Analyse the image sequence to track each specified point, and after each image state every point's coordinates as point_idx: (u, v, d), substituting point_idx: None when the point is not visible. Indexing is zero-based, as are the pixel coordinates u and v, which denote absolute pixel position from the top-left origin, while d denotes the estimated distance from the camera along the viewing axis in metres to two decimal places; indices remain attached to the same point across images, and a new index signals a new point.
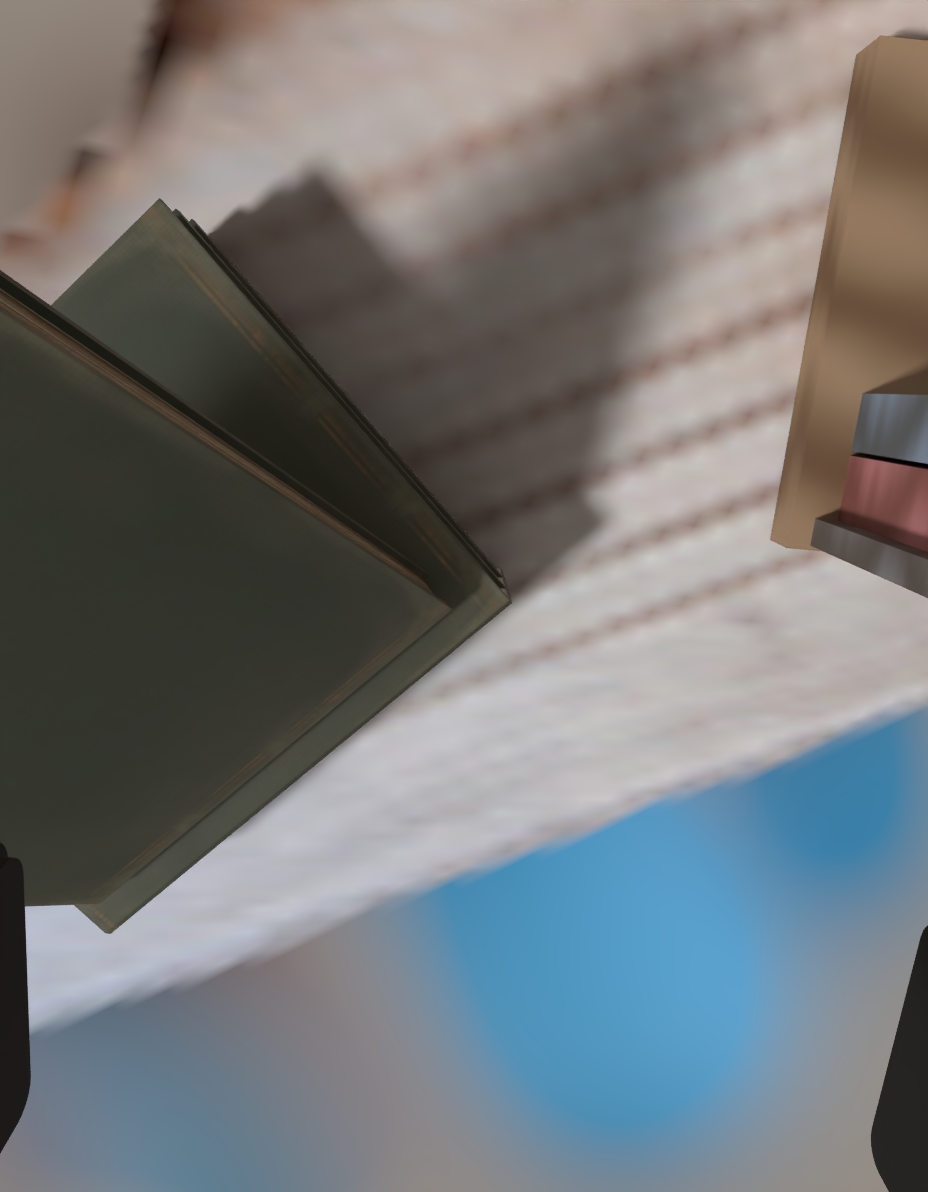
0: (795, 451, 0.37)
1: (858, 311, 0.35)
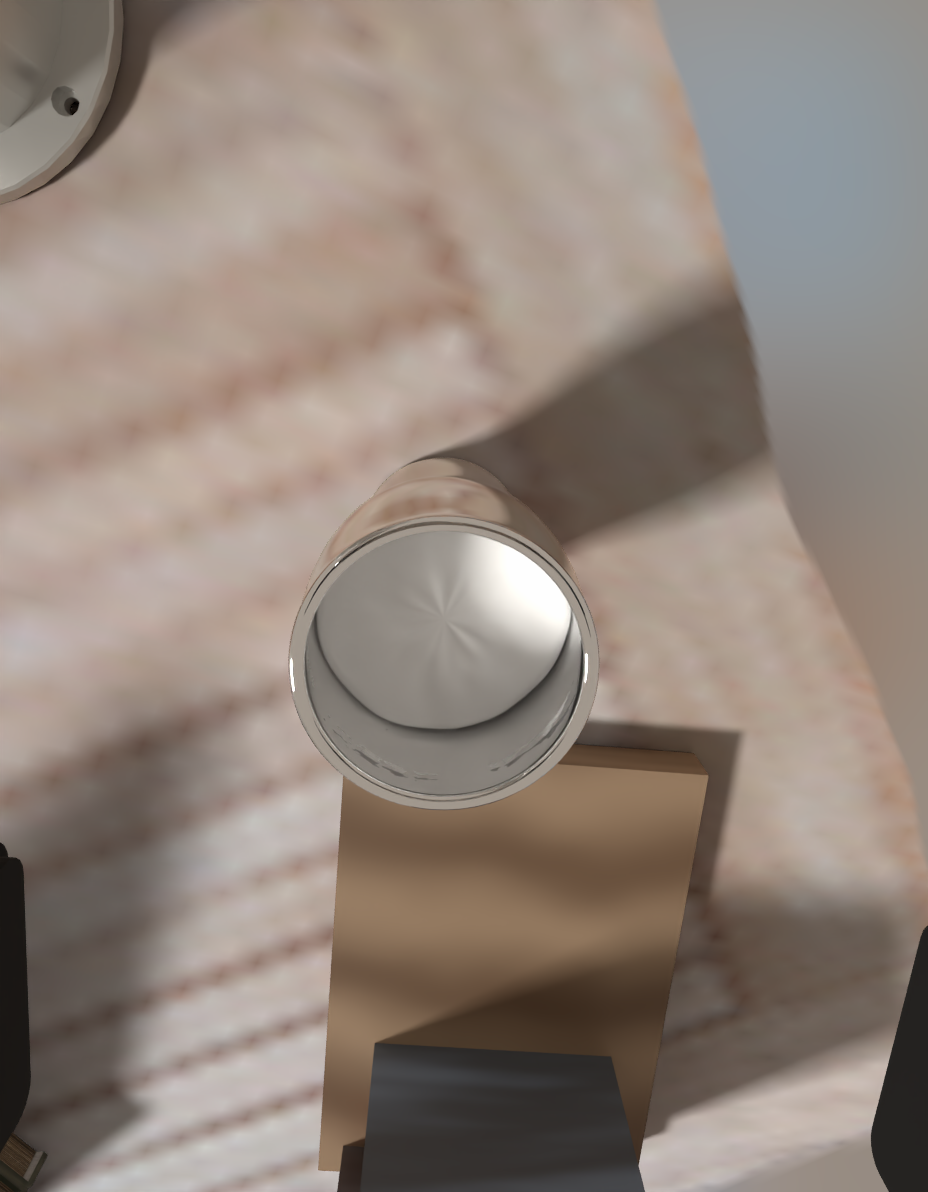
0: None
1: (359, 976, 0.35)
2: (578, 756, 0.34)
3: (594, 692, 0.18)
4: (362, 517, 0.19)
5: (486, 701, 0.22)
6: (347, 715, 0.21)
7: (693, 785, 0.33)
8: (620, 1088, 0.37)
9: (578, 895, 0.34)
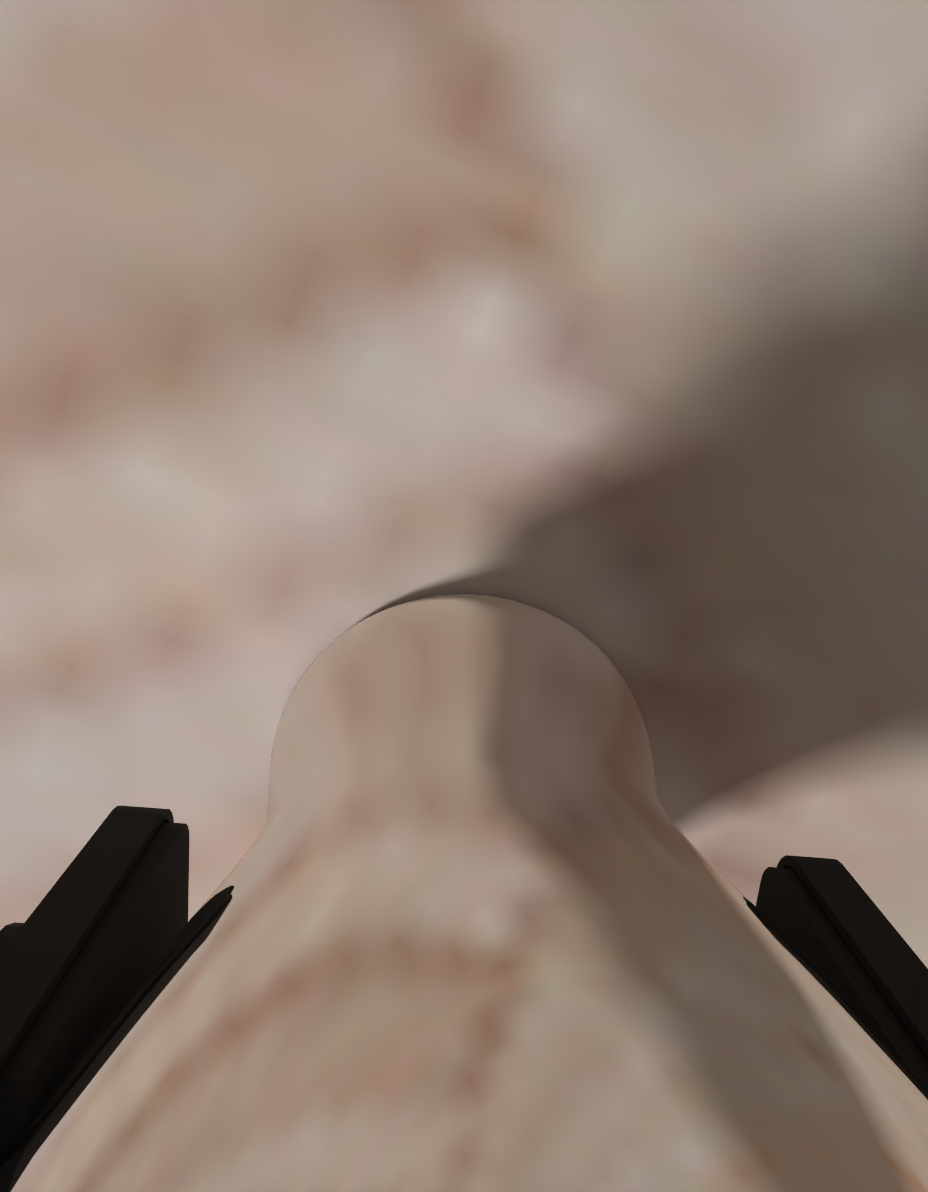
0: None
1: None
2: None
3: None
4: None
5: None
6: None
7: None
8: None
9: None
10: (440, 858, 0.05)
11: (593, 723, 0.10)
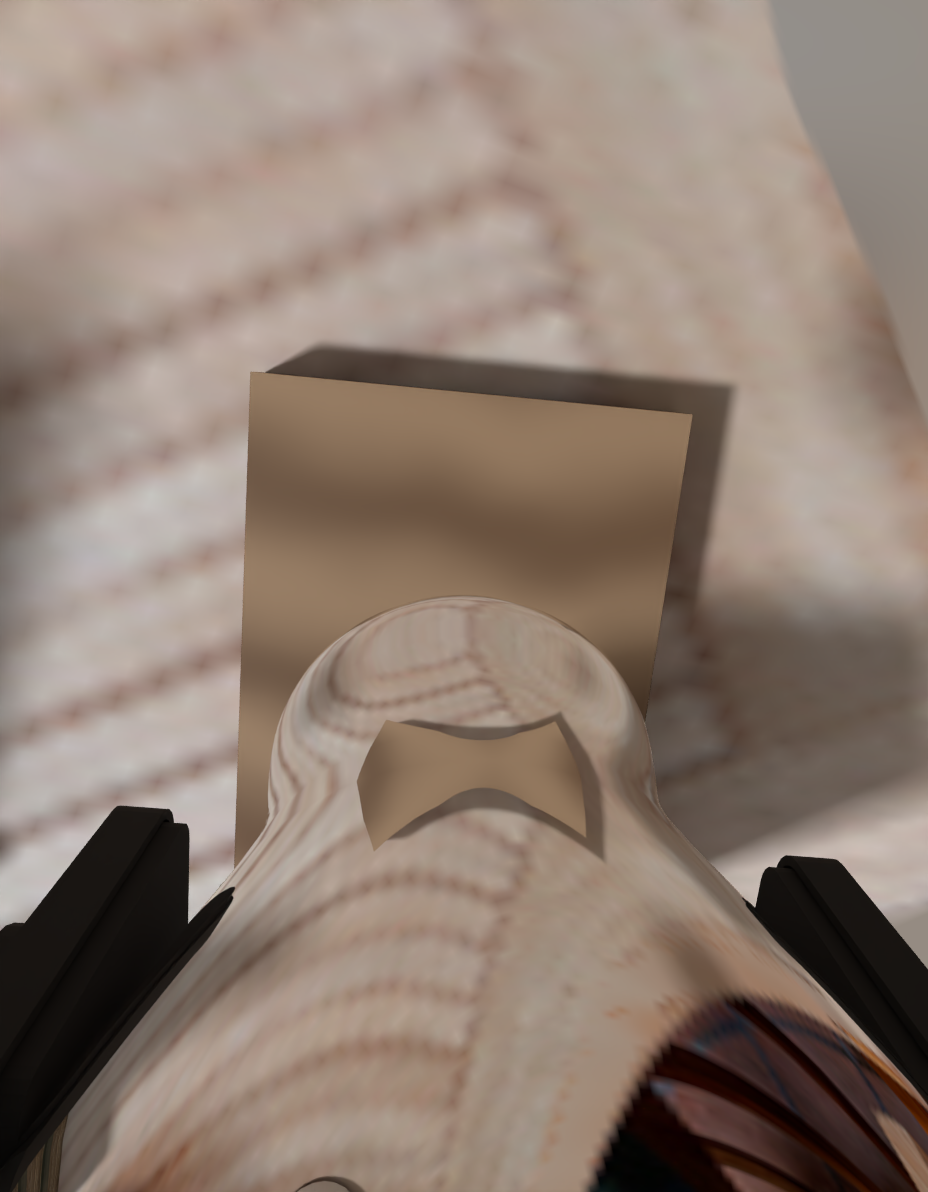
0: None
1: (274, 677, 0.29)
2: None
3: None
4: None
5: None
6: None
7: (674, 427, 0.27)
8: None
9: (536, 573, 0.28)
10: (440, 861, 0.05)
11: (593, 724, 0.10)
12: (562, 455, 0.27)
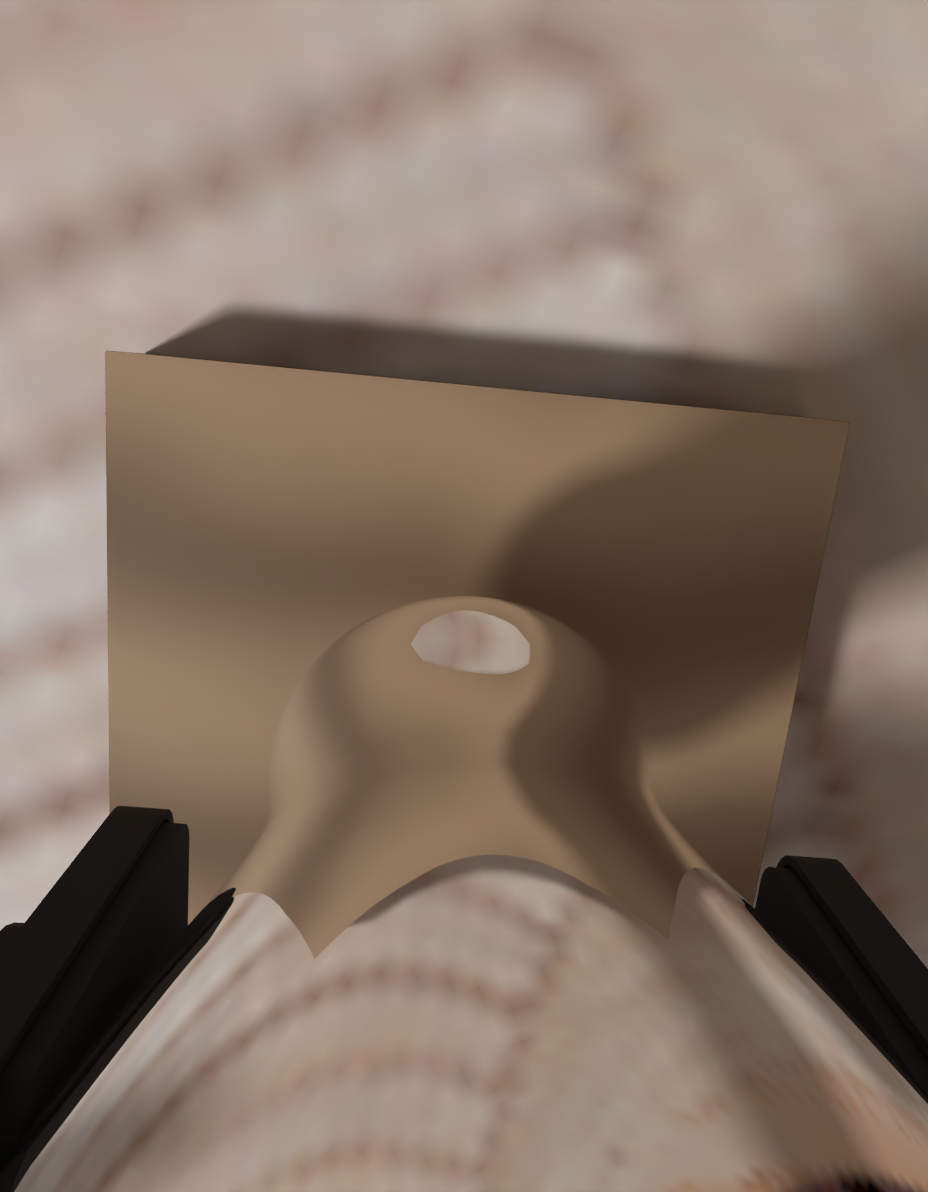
0: None
1: None
2: (585, 396, 0.17)
3: None
4: None
5: None
6: None
7: (818, 444, 0.16)
8: None
9: None
10: (440, 863, 0.05)
11: (594, 725, 0.10)
12: (631, 490, 0.17)
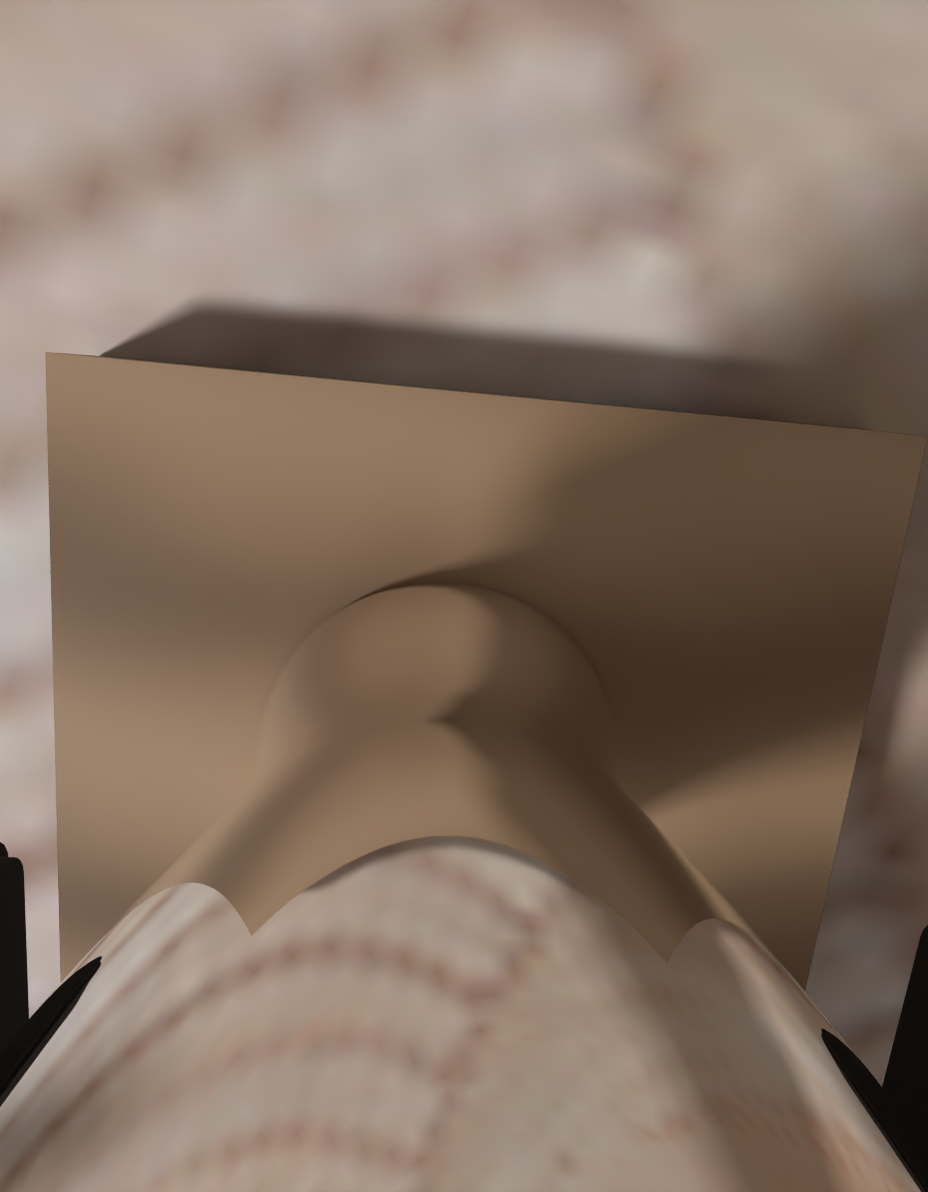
0: None
1: None
2: None
3: None
4: None
5: None
6: None
7: (889, 462, 0.14)
8: None
9: None
10: (395, 790, 0.06)
11: (554, 699, 0.11)
12: (668, 516, 0.14)
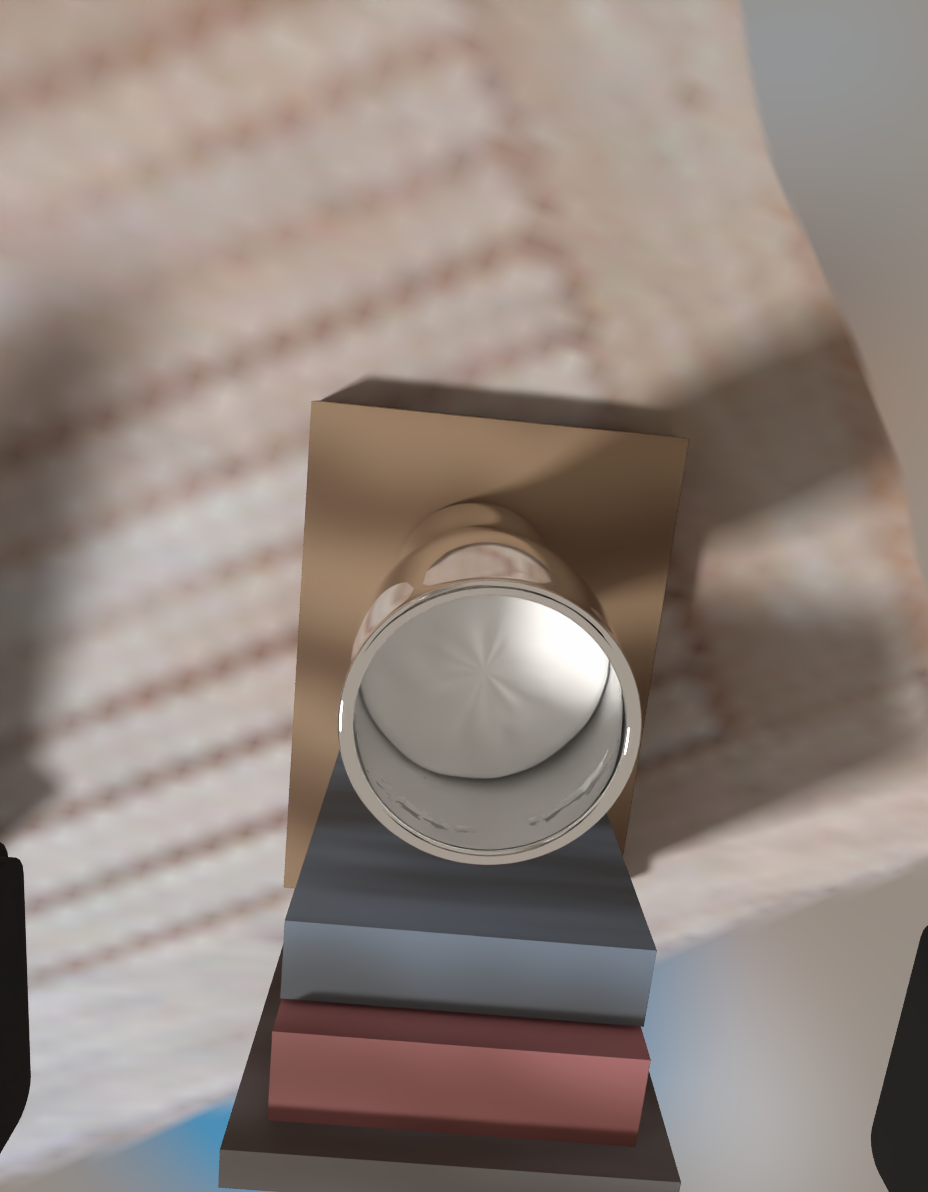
0: None
1: (326, 663, 0.34)
2: (554, 425, 0.32)
3: (635, 753, 0.18)
4: (409, 575, 0.20)
5: (523, 752, 0.23)
6: (388, 765, 0.22)
7: (673, 450, 0.32)
8: None
9: None
10: None
11: None
12: (577, 473, 0.32)
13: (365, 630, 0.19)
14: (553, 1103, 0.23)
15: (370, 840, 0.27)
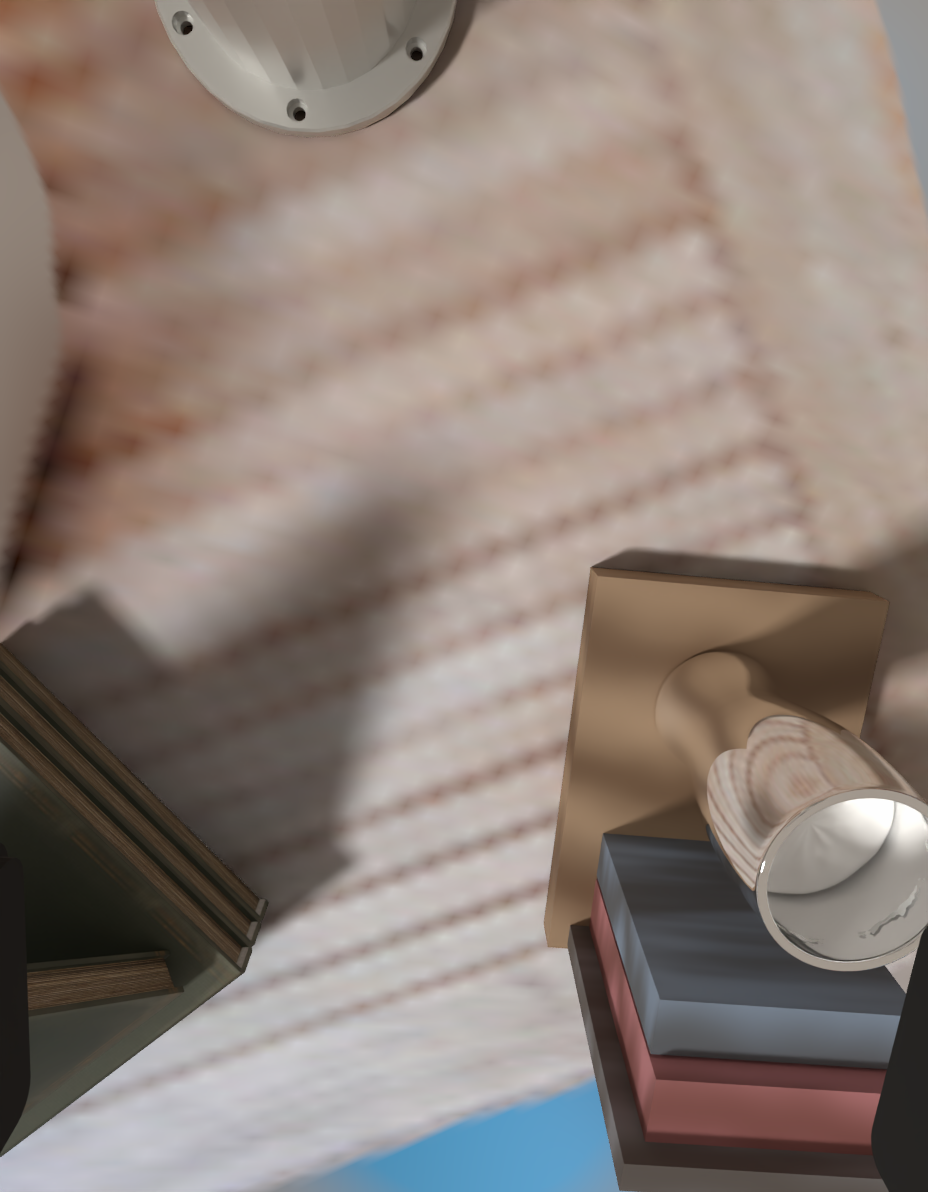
0: (555, 866, 0.45)
1: (594, 773, 0.42)
2: (780, 588, 0.41)
3: None
4: (784, 769, 0.29)
5: (830, 876, 0.32)
6: None
7: (876, 610, 0.41)
8: None
9: None
10: (777, 706, 0.33)
11: (775, 690, 0.38)
12: (800, 628, 0.41)
13: (765, 813, 0.28)
14: (850, 1127, 0.32)
15: (677, 927, 0.36)
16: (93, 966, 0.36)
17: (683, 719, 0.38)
